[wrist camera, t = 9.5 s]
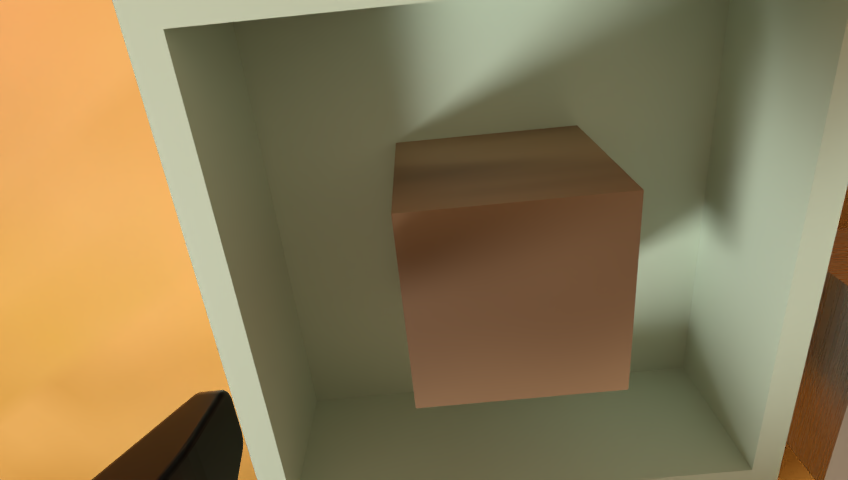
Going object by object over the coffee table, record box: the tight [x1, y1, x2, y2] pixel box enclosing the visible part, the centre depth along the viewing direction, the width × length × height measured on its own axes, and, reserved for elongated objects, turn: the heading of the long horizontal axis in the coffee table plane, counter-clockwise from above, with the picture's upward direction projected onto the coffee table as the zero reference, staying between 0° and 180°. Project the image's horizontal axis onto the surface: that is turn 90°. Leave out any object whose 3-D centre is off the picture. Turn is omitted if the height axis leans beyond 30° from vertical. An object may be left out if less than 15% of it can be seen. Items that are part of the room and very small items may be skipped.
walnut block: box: [391, 125, 644, 408], centre depth 12 cm, size 4×4×4 cm
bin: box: [112, 0, 848, 480], centre depth 12 cm, size 11×11×4 cm
